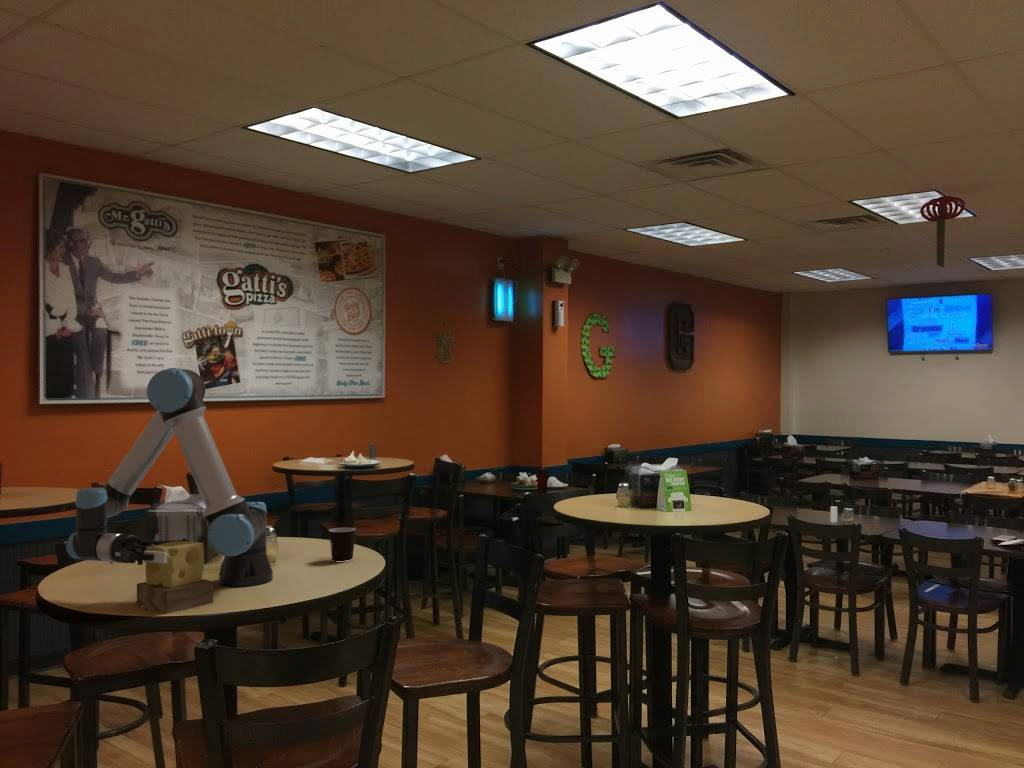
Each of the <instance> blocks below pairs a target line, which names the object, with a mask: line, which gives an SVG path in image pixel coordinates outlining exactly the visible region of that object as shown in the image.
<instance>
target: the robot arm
mask: <svg viewBox="0 0 1024 768" xmlns="http://www.w3.org/2000/svg"><path fill="white" fill-rule="evenodd" d="M146 396H147V399H148V402H149V403H150V404H151V406H152V407H153V408H155V409H156V412H155V413H154V414H153V416H152V418H151V419H150V420H149V422H148V423H147V424H146V426H145V428H144V429H143V430H142V432H141V433H140V435H138V438H137V439H136V441H135V442H134V443H133V445H132V446H131V447H130V449H129V450H128V452H127V453H126V455H125V456H124V458H123V459H122V460H121V461H120V462H119V465H118V466H117V467H116V469H115V471H114V472H113V473H112V475H111V477H109V479H108V480H107V482H106V484H105V485H104V487H85V488H84V487H83V488H80V489H78V490H77V491H76V495H75V496H76V497H75V504H74V505H75V517H76V518H75V519H76V521H75V524H76V527H75V529H76V530H75V532H73V533H71V534H70V536H68V541H67V542H66V545H65V546H66V547H65V548H66V552H67V554H68V555H69V556H70V558H73V559H75V560H76V559H77V560H82V561H95V562H96V561H97V562H109V564H110V565H113V564H114V563H121V564H135V563H136V562H137V565H138V566H142V565H144V563H146V562H153V563H167V552H158V551H146V547H148V546H154V545H160V544H165V543H169V542H174V541H180V542H189V543H202V542H200V541H199V542H198V541H189V540H188V539H186V538H185V537H184V538H182V539H172V540H155V539H152V540H149V541H148V540H140V538H139V537H138V536H137V535H135V534H130V533H129V534H127V533H114V532H113V533H111V532H108V519H109V518H111V517H114V516H118V515H120V514H121V513H122V512H124V511H125V510H126V509H127V508H128V506H129V502H130V498H131V497H132V495H133V493H134V492H135V491H136V489H137V488H138V486H139V485H140V484H141V482H142V481H143V479H144V478H145V477H146V475H147V473H148V472H149V471H150V470H151V468H152V466H153V465H154V463H155V462H156V461H157V459H158V458H159V456H160V455H161V454H162V452H163V451H164V450H165V447H166V446H167V445H168V444H169V442H170V441H171V440H172V438H173V436H174V435H175V437H176V440H177V442H178V445H179V447H180V449H181V451H182V454H183V456H184V459H185V461H186V463H187V465H188V468H189V469H190V473H191V475H192V477H193V479H194V482H195V484H196V486H197V489H198V492H199V494H200V496H201V499H202V501H203V503H204V506H205V510H204V512H203V518H204V521H205V523H206V526H207V529H208V530H207V541H208V543H209V545H210V547H211V548H212V550H214V551H215V553H217V554H219V555H221V556H223V557H224V558H223V561H222V564H221V566H220V570H219V572H218V573H219V574H218V584H220V585H222V586H226V587H246V586H247V587H248V586H255V585H256V586H257V585H261V584H265V583H269V582H272V580H273V579H274V572H273V568H272V567H271V566H272V565H271V562H270V560H269V556H268V553H267V515H268V511H267V505H266V503H265V502H262V501H246V499H245V497H242V496H240V495H238V494H237V492H236V489H235V487H234V485H233V482H232V480H231V478H230V476H229V473H228V471H227V468H226V466H225V463H224V461H223V459H222V457H221V454H220V451H219V450H218V447H217V444H216V443H215V440H214V437H213V436H212V432H211V429H210V428H209V425H208V423H207V420H206V419H205V415H204V414H205V412H206V410H207V406H206V403H205V401H204V399H205V396H206V383H205V381H204V379H203V378H202V376H200V375H199V374H198V373H197V372H196V371H193V370H190V369H185V368H184V369H183V368H182V369H181V368H176V367H168V368H166V369H162V370H160V371H158V372H156V373H155V374H154V375H152V377H151V378H150V379H149V382H148V383H147V387H146Z"/></svg>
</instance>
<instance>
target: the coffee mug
mask: <svg viewBox="0 0 1024 768" xmlns="http://www.w3.org/2000/svg"><path fill="white" fill-rule="evenodd" d="M356 532H357V531H356V528H355V527H336V528H330V529H329V530H328V536H329V542H330V550H331V560H334V561H345V560H350V559H352V558H353V559H354V548H355V541H356V540H355V539H356Z"/></svg>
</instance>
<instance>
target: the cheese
mask: <svg viewBox="0 0 1024 768" xmlns="http://www.w3.org/2000/svg"><path fill="white" fill-rule="evenodd" d="M189 542H190V541H188V542H180V541H174V542H169V543H165V544H160V545H154V546H148V547H146V551H158V552H167V563H153V562H145V580H146V581H145V582H146V583H147V584H149V585H163V587H168V588H175V587H178V586H181V585H185V584H190V583H194V582H199V581H201V580H202V579H203V572H204V565H205V549H204V542H201V543H189Z"/></svg>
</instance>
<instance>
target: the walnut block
mask: <svg viewBox="0 0 1024 768" xmlns="http://www.w3.org/2000/svg"><path fill="white" fill-rule="evenodd" d="M213 603H214V581H213V580H207V579H205V578H204V579H203V578H202V580H201V581H199V582H194V583H190V584H185V585H181V586H178V587H175V588H168V587H163V585H149V584H147V583H146V581H144V582H140V583H139V582H138V583H136V606H137V605H139V606H138V607H141V606H143V607H142V608H144V607H146V608H145V609H148V608H150V609H149V610H152V609H153V610H152V611H155V610H156V612H159V611H160V613H163V612H164V613H163V614H171V613H176V612H180V611H185V610H189V609H193V608H196V607H201V606H205V605H209V604H213Z"/></svg>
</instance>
